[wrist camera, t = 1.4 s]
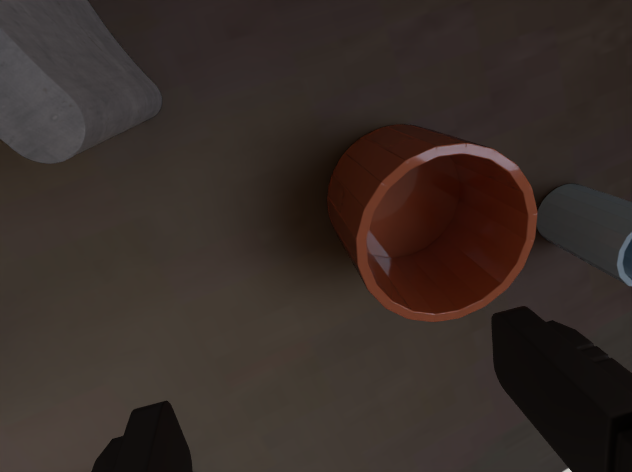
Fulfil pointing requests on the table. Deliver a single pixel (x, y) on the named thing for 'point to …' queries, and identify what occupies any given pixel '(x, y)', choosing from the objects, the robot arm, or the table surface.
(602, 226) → the enamel cup
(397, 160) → the flower pot
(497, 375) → the robot arm
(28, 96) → the hip flask
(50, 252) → the table surface
